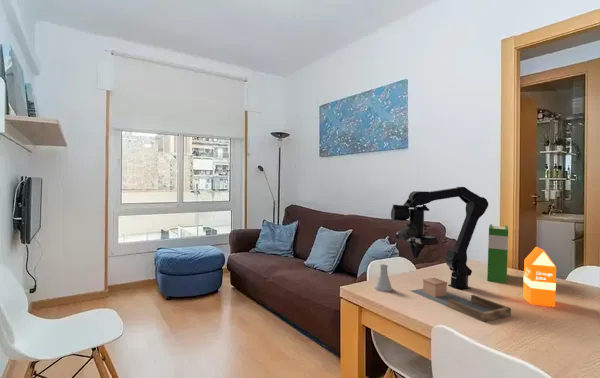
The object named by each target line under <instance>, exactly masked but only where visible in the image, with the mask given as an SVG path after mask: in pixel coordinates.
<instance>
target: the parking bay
mask: <svg viewBox="0 0 600 378" xmlns="http://www.w3.org/2000/svg"><path fill="white" fill-rule="evenodd" d="M470 296H471V297H470V301H471V302H472V303H475V304H477V305H480V306H483V307H485V308H488V309H491V311H487V312H481V311H479V310H476V309H474V308H471V307H469V306H466V305H464V304H461V303H459V302H456V301H453V300H451V299H449V300H448V307H447V308H449V309H451V310H454V311H457V312H460V313H461V314H464V315H466V316H469V317H471V318H474V319H476V320H479V322H482V321H483V323H487V322H490V321H495V320H498V319H499V320H500V319H503V318H507V317H511V316H512V308H511V307H509V306H505V305H503V304H500V303H497V302H495V301H492V300H489V299H486V298H484V297H480V296H477V295H475V294H473V295H470Z"/></svg>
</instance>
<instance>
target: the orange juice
mask: <svg viewBox="0 0 600 378" xmlns="http://www.w3.org/2000/svg"><path fill="white" fill-rule="evenodd" d="M523 264H524V266H523V291H522V292H523V293H522V297H523V298H524V299H525V300H526V301H527V302H528V303H529V304H530V305H536V306H544V307H551V306H552V308H555V306H556V290H557V289H556V288H557V283H556V282H557V266H556V265H555V264H554V262H553V261H552V259H551V258H550V257H549V255H548V254H547V253H546V251H545V250H544V249H542V248H540V247H538V246H535V247H534V248H533V249H532V251H530V253H529V254H528V255H527V256H526V257H525V259H524V261H523Z"/></svg>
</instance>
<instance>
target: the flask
mask: <svg viewBox="0 0 600 378" xmlns="http://www.w3.org/2000/svg"><path fill="white" fill-rule="evenodd" d="M379 267H380V268H379V269H380V270H379V275H378V277H377V280H376V283H375V285H374V289H375V290H376V291H377V292H378V291H379V292H384V293H385V292H392V290H393V287H392V284H391V281H390V279H389V275H388V264H384V263H383V264H382V263H381V264H379Z"/></svg>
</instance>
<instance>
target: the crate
mask: <svg viewBox="0 0 600 378" xmlns="http://www.w3.org/2000/svg"><path fill="white" fill-rule="evenodd" d="M422 282H423V283H422V284H423V285H422V289H423V293H426V294H428V295H431V296H433V297H439V296H445V295H446V292H448V291H447V290H448V289H447V288H448V287H447V286H448V282H447V281H445V280H442V279H439V278H436V277H432V278H425V279H422Z"/></svg>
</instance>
